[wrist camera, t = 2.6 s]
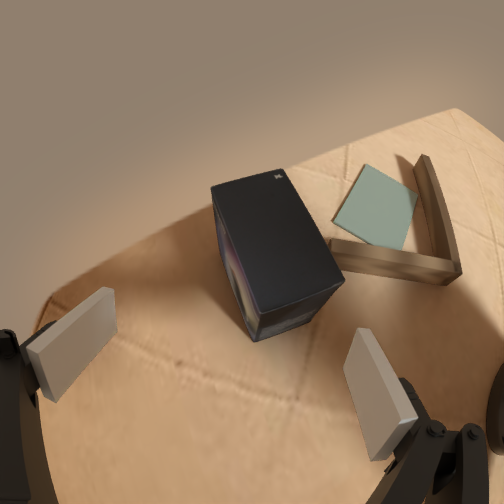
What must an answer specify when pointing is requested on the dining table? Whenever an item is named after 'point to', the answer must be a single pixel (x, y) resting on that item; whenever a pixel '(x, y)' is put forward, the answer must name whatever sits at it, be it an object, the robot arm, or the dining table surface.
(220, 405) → the dining table surface
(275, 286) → the small box
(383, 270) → the walnut corner fence
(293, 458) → the dining table surface
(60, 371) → the robot arm
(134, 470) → the dining table surface
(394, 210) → the pad
